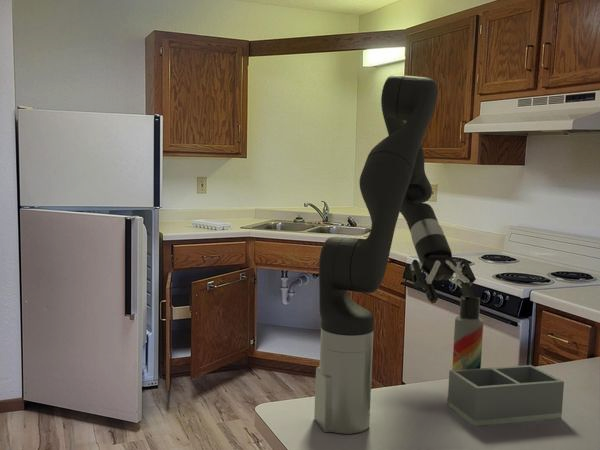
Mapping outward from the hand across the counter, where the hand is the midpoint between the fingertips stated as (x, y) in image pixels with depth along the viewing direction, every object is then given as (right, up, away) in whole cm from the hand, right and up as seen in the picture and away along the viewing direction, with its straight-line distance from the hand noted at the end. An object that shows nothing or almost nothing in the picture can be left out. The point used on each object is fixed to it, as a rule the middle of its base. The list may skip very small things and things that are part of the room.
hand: (452, 300), depth 129 cm
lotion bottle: (+1, -18, -5) cm, 19 cm away
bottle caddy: (+5, -19, -16) cm, 26 cm away
